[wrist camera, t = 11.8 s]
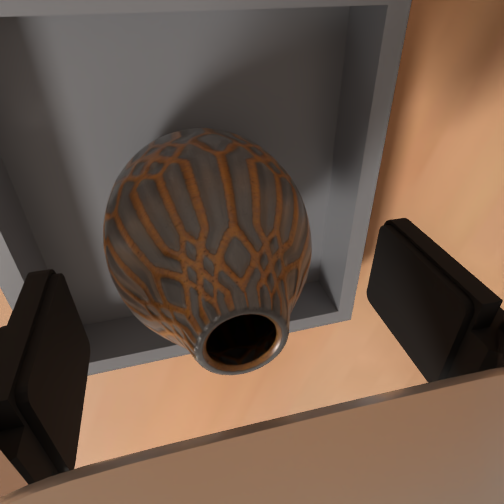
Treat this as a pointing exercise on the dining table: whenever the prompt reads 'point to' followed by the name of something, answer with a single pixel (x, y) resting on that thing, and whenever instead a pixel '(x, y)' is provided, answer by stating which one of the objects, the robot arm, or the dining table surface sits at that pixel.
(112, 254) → the vase
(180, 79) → the tray
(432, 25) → the dining table surface
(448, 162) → the dining table surface
